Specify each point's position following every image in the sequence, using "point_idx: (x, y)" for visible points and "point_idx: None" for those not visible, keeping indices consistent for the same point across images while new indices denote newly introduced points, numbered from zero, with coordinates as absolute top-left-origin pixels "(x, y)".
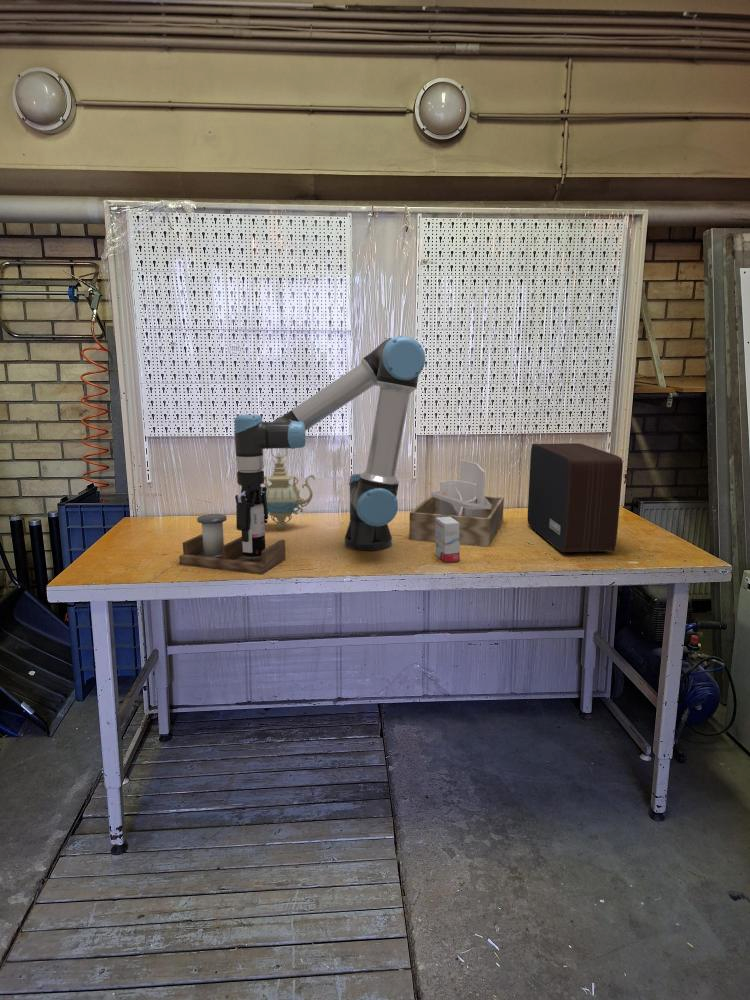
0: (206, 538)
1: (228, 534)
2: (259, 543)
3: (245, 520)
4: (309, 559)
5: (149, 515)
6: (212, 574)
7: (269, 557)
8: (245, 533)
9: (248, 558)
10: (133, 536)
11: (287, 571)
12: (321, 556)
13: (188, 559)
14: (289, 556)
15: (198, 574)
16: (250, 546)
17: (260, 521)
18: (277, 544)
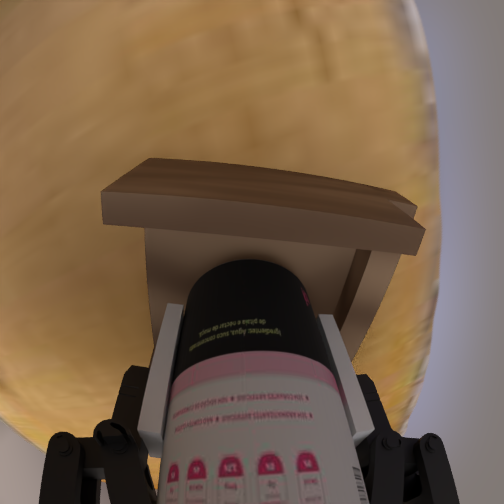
0: None
1: (45, 404)
2: (303, 322)
3: (441, 491)
4: (121, 39)
5: None
6: (381, 348)
7: (355, 199)
8: (385, 422)
9: None
10: (157, 482)
11: (344, 82)
12: (70, 16)
13: None
14: (99, 161)
15: (375, 373)
16: (342, 343)
17: (328, 481)
18: (242, 201)
